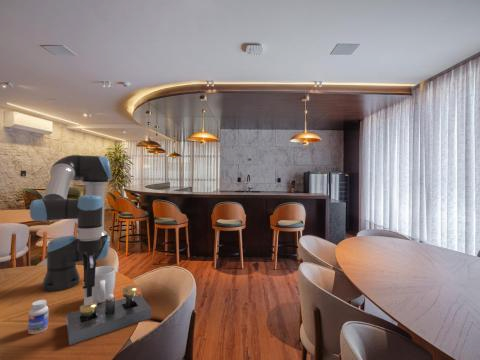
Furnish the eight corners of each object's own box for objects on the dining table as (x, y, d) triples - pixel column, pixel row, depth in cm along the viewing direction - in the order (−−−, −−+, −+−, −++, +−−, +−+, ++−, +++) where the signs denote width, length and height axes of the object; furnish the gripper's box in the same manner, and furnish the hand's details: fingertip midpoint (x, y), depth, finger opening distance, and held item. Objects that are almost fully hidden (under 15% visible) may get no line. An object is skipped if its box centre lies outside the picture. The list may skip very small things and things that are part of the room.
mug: (117, 306, 103) (118, 275, 103) (86, 313, 97) (87, 280, 97) (113, 291, 116) (113, 264, 116) (85, 297, 110) (86, 268, 110)
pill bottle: (24, 335, 83) (25, 307, 83) (33, 326, 88) (33, 299, 88) (43, 333, 85) (44, 305, 85) (51, 324, 90) (51, 297, 90)
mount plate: (66, 324, 90) (66, 313, 90) (140, 303, 106) (140, 294, 106) (69, 345, 79) (69, 333, 79) (150, 318, 95) (151, 308, 95)
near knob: (78, 320, 88) (79, 303, 88) (95, 316, 92) (95, 299, 92) (80, 327, 84) (80, 310, 84) (97, 322, 88) (98, 305, 87)
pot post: (104, 310, 93) (104, 294, 93) (113, 307, 95) (114, 292, 94) (106, 314, 90) (106, 297, 90) (115, 311, 92) (115, 295, 92)
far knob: (121, 302, 97) (121, 287, 97) (134, 299, 100) (135, 284, 100) (124, 308, 93) (124, 292, 93) (138, 304, 96) (138, 289, 96)
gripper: (75, 236, 91) (74, 300, 91) (79, 244, 80) (77, 316, 80) (98, 233, 95) (97, 294, 95) (104, 240, 85) (103, 308, 85)
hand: (88, 304), depth 88 cm, fingers closed
